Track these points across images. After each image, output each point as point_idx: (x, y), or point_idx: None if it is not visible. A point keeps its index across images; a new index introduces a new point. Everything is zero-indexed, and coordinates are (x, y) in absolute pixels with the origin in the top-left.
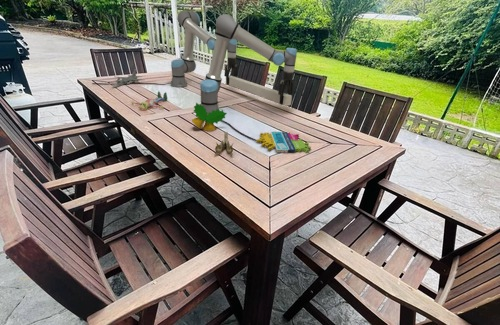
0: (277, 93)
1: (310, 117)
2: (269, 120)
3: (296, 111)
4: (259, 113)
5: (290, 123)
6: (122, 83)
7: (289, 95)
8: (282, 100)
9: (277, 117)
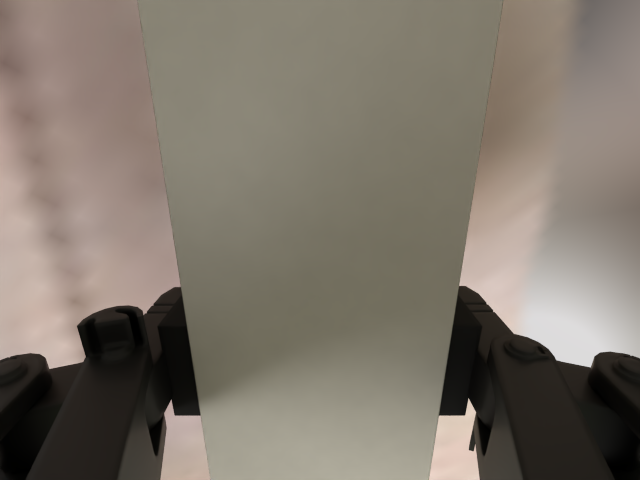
0: (162, 144)
1: (465, 425)
2: (30, 304)
3: (519, 250)
4: (20, 65)
5: (180, 432)
6: None
7: (362, 471)
8: None
9: (163, 283)
